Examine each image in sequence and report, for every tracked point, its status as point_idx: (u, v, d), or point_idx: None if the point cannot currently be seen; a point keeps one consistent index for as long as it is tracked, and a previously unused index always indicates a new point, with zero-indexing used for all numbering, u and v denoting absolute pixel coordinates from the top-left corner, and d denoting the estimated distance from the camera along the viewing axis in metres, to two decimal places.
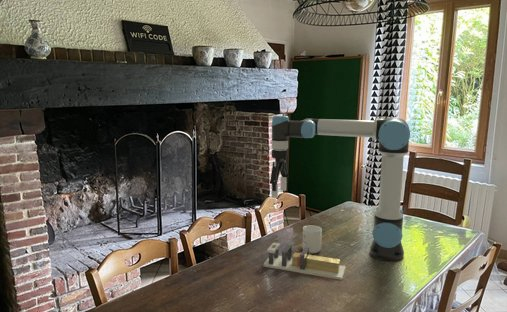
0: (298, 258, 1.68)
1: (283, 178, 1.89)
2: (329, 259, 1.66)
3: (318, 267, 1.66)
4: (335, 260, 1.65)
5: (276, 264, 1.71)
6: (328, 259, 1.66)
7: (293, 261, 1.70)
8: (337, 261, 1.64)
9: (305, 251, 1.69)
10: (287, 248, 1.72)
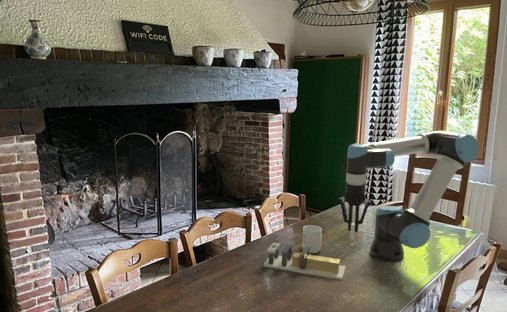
0: (298, 258, 1.68)
1: None
2: (329, 259, 1.66)
3: (318, 267, 1.66)
4: (335, 260, 1.65)
5: (276, 264, 1.71)
6: (328, 259, 1.66)
7: (293, 261, 1.70)
8: (337, 261, 1.64)
9: (305, 251, 1.69)
10: (287, 248, 1.72)
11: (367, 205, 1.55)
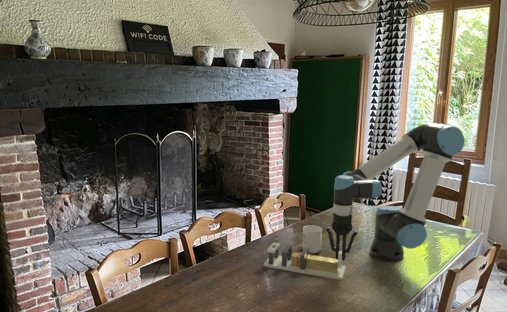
0: (297, 258, 1.69)
1: None
2: (328, 259, 1.66)
3: (317, 267, 1.66)
4: (334, 260, 1.65)
5: (276, 264, 1.71)
6: (327, 259, 1.66)
7: (292, 261, 1.70)
8: (336, 261, 1.65)
9: (305, 251, 1.69)
10: (287, 248, 1.72)
11: (354, 235, 1.59)
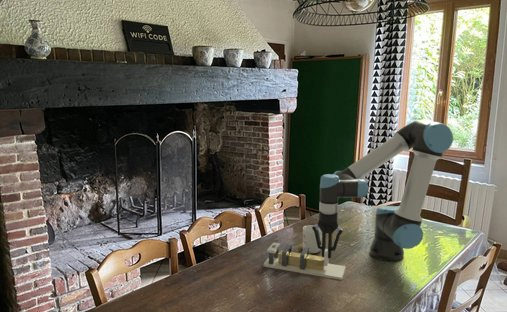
0: None
1: None
2: (314, 257, 1.68)
3: None
4: (320, 258, 1.68)
5: (276, 264, 1.71)
6: (313, 257, 1.68)
7: (279, 259, 1.72)
8: (322, 259, 1.67)
9: (305, 251, 1.69)
10: (287, 248, 1.72)
11: (339, 233, 1.61)
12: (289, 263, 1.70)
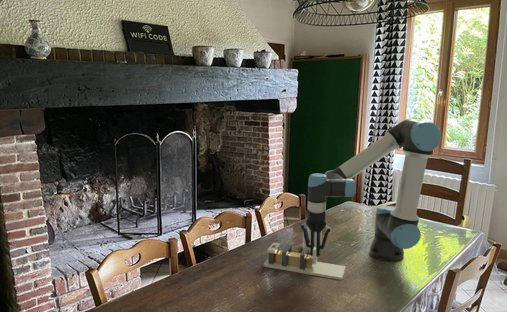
0: None
1: None
2: None
3: (292, 263, 1.70)
4: (309, 256, 1.69)
5: (276, 264, 1.71)
6: None
7: None
8: (311, 257, 1.68)
9: (305, 251, 1.69)
10: (287, 248, 1.72)
11: (327, 231, 1.63)
12: (278, 261, 1.72)
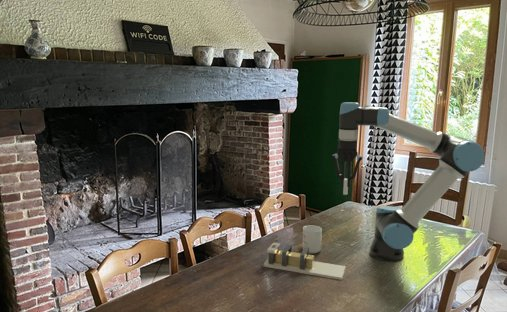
0: None
1: None
2: None
3: (292, 263, 1.70)
4: (309, 256, 1.69)
5: (276, 264, 1.71)
6: None
7: None
8: (311, 257, 1.68)
9: (305, 251, 1.69)
10: (287, 248, 1.72)
11: (359, 160, 1.62)
12: (278, 261, 1.72)
